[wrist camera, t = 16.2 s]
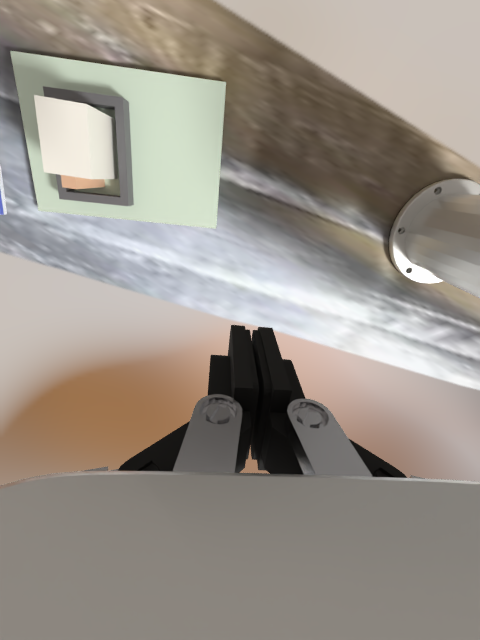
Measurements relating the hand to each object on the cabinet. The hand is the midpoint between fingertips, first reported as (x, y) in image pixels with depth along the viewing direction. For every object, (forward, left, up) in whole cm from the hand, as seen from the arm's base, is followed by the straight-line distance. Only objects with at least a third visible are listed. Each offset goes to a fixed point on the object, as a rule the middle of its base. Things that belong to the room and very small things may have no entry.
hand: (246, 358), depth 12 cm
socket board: (+12, -8, -27) cm, 31 cm away
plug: (+15, -8, -26) cm, 31 cm away
